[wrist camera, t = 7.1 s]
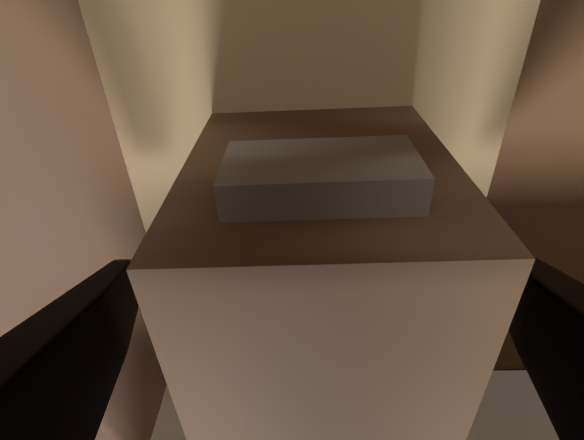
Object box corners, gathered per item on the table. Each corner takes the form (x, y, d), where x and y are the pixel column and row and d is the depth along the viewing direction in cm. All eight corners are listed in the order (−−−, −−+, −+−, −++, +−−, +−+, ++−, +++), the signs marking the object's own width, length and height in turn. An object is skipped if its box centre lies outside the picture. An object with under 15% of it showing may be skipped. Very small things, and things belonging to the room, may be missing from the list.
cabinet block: (415, 80, 9) (551, 217, 4) (389, 285, 13) (447, 488, 8) (208, 89, 10) (111, 229, 5) (239, 289, 13) (204, 491, 8)
